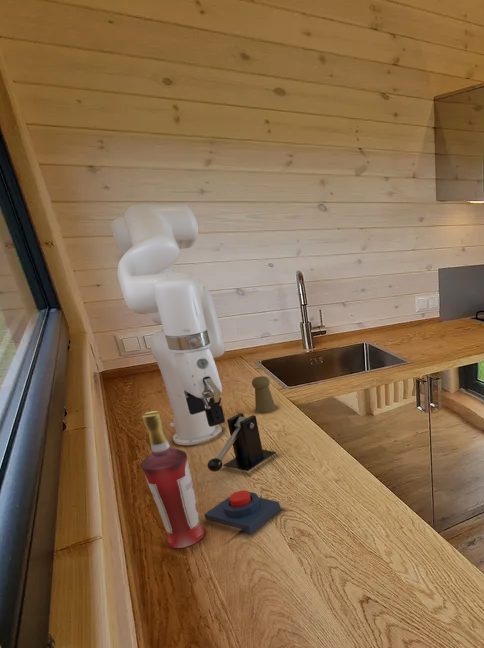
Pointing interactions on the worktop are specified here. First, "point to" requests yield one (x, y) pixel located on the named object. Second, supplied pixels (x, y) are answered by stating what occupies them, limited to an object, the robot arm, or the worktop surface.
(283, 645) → the worktop surface
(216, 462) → the switch lever
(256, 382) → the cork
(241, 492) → the switch button
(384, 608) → the worktop surface
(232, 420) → the switch bracket
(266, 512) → the switch box
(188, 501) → the liquor
